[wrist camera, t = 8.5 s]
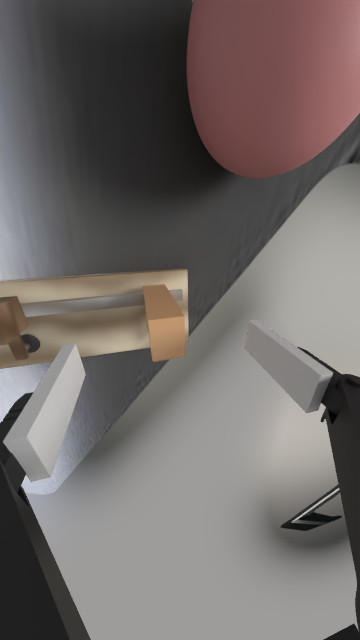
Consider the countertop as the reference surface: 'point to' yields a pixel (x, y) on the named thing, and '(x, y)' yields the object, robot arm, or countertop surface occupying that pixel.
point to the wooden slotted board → (80, 314)
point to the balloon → (272, 79)
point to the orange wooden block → (164, 323)
